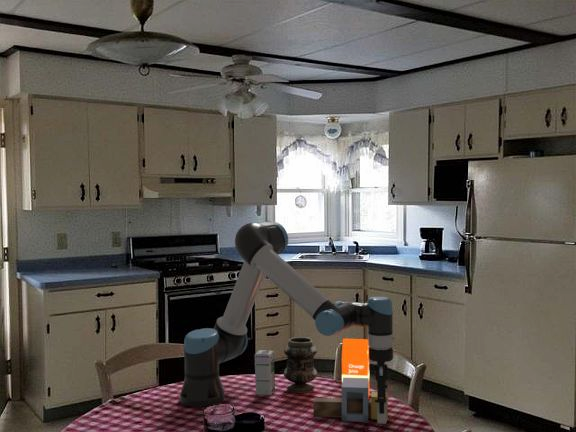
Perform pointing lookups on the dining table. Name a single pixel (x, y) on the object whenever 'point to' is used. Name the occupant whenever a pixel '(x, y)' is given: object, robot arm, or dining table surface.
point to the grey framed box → (355, 390)
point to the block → (374, 405)
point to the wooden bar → (338, 407)
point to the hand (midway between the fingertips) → (381, 415)
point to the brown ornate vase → (300, 364)
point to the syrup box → (264, 372)
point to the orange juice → (355, 359)
